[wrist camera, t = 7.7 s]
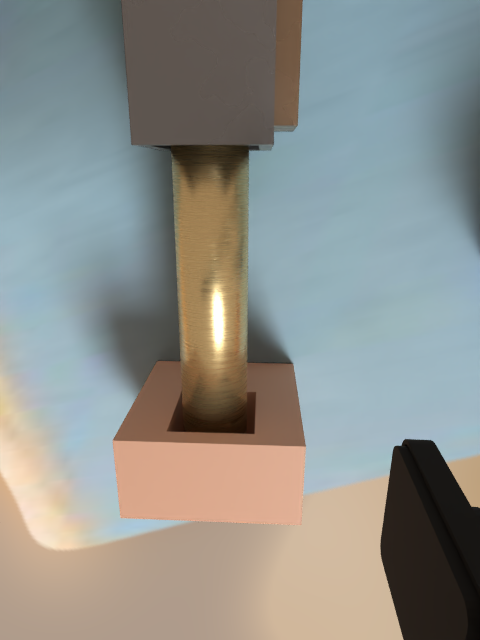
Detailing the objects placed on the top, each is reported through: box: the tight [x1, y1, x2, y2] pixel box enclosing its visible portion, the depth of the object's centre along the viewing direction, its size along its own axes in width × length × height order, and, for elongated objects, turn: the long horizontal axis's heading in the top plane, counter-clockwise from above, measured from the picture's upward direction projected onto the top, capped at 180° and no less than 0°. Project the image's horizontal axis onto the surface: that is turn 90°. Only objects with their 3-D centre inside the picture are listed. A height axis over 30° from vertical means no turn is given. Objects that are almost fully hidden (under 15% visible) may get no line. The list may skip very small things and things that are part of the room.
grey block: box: [121, 0, 303, 151], centre depth 17 cm, size 9×7×8 cm
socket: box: [113, 361, 306, 525], centre depth 23 cm, size 4×8×8 cm, turn 90°
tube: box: [171, 145, 249, 434], centre depth 19 cm, size 16×3×3 cm, turn 0°
